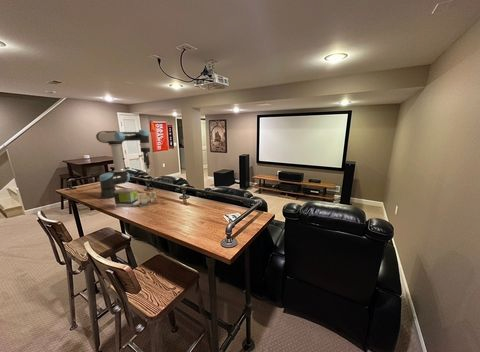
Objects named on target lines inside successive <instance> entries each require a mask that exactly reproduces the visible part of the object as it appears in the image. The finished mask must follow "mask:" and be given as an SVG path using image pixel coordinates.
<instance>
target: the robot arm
mask: <svg viewBox="0 0 480 352" xmlns="http://www.w3.org/2000/svg"><path fill="white" fill-rule="evenodd" d="M95 138H96V140H97V141H98V142H99V143H101V144H108V146H110V148H111V150H110V151H111V154H112V160H113V167H114V170H113V172H107V173H102V174H100V175H99V177H98V178H99V179H98V180H99V185H100V195H99V197H100V199H104V200H106V199H112V198H114V191H116V190H117V189H116V185H122V184H126V183H128V182H129V181H130V178H131V175H130V173H129V172H128V171H127V169H125V164H124V158H123V151H122V145H123V143H124V142H126V141H127V142H128V141H129V142H130V141H132V142H133V141H139V146H140V152H141V153H142V156H143V165H144V166H143V167H144V170H146V173H151V167H150V166H151V165H150V164H151V163H150V157H149V153H150V152H151V147H150V146H151V145H150V144H151V143H150V134H149V130H148V129H139V130H138V131H117V130H102V131H99V132H97V133H96V135H95Z"/></svg>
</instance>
